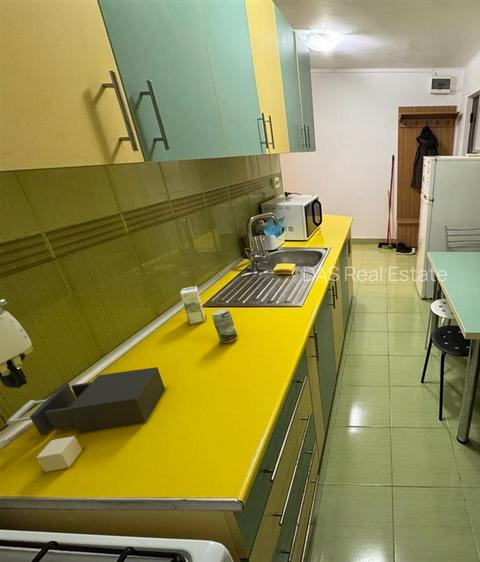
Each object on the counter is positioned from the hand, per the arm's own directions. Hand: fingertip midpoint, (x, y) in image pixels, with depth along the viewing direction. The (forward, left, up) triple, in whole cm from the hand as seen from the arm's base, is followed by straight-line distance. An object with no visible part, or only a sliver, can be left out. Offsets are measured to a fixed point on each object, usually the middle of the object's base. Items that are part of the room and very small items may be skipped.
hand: (17, 385), depth 69 cm
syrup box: (+19, +54, -16) cm, 59 cm away
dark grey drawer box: (+15, +5, -16) cm, 22 cm away
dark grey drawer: (+3, +5, -15) cm, 16 cm away
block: (+9, -9, -16) cm, 20 cm away
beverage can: (+35, +35, -16) cm, 52 cm away
